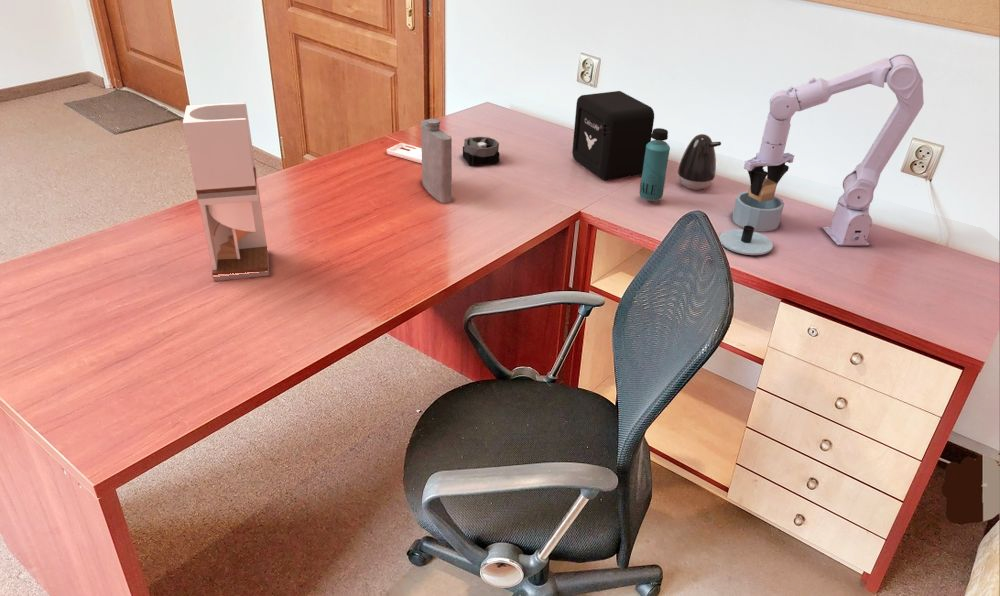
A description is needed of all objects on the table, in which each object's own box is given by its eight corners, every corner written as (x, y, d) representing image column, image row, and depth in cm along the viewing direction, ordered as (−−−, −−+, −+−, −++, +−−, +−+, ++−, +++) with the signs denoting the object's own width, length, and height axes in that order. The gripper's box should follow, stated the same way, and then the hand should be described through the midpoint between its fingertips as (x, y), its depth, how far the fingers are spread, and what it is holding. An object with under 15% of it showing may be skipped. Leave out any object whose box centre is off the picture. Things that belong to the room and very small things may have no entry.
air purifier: (567, 159, 229) (573, 93, 218) (609, 152, 234) (616, 88, 224) (602, 184, 213) (610, 115, 203) (646, 177, 219) (655, 109, 208)
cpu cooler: (502, 146, 220) (469, 149, 217) (502, 165, 223) (468, 168, 220) (492, 134, 228) (460, 137, 226) (492, 152, 231) (459, 155, 229)
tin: (787, 228, 193) (793, 207, 190) (748, 233, 190) (753, 212, 187) (761, 209, 203) (766, 189, 200) (723, 214, 199) (727, 193, 196)
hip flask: (453, 202, 200) (453, 129, 190) (439, 204, 199) (438, 131, 188) (431, 179, 212) (430, 109, 202) (417, 181, 211) (415, 111, 200)
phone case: (386, 153, 228) (426, 165, 221) (385, 149, 227) (426, 160, 220) (401, 146, 233) (441, 157, 227) (401, 142, 232) (441, 153, 226)
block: (773, 199, 192) (777, 183, 190) (760, 202, 190) (764, 186, 188) (761, 192, 195) (764, 176, 193) (748, 195, 194) (751, 179, 191)
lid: (782, 253, 182) (787, 236, 179) (737, 260, 178) (741, 242, 176) (752, 230, 192) (756, 213, 189) (708, 236, 188) (712, 219, 186)
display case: (213, 281, 163) (182, 122, 144) (215, 257, 171) (186, 105, 153) (268, 275, 165) (245, 119, 147) (268, 252, 174) (245, 102, 155)
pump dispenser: (703, 197, 208) (714, 144, 200) (669, 187, 213) (678, 135, 205) (719, 185, 215) (729, 134, 207) (685, 176, 220) (694, 125, 212)
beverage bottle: (661, 196, 208) (672, 126, 197) (663, 207, 202) (674, 134, 191) (637, 195, 208) (647, 124, 197) (638, 205, 202) (648, 133, 192)
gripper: (784, 132, 191) (772, 182, 198) (740, 139, 185) (729, 190, 192) (805, 141, 185) (792, 192, 193) (760, 149, 180) (748, 201, 187)
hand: (762, 192), depth 192 cm, fingers closed on block, 4 cm apart
